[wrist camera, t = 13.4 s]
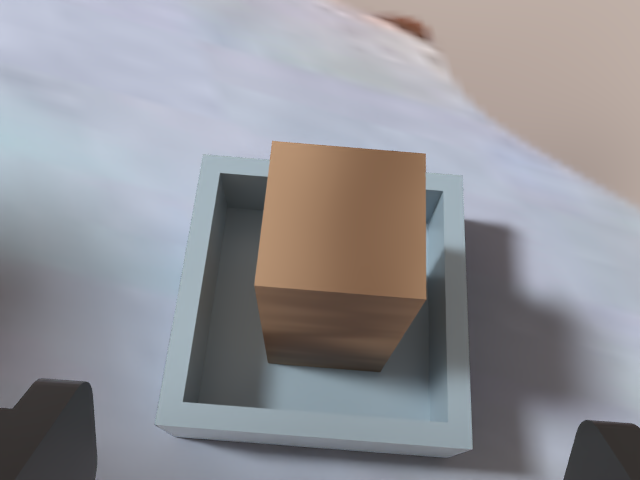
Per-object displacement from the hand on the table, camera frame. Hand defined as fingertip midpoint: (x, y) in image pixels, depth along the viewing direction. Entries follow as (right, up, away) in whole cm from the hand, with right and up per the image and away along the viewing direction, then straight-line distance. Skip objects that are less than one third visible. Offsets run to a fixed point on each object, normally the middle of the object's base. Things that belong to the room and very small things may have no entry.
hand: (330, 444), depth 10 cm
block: (0, 0, +15) cm, 15 cm away
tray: (0, 0, +15) cm, 15 cm away
